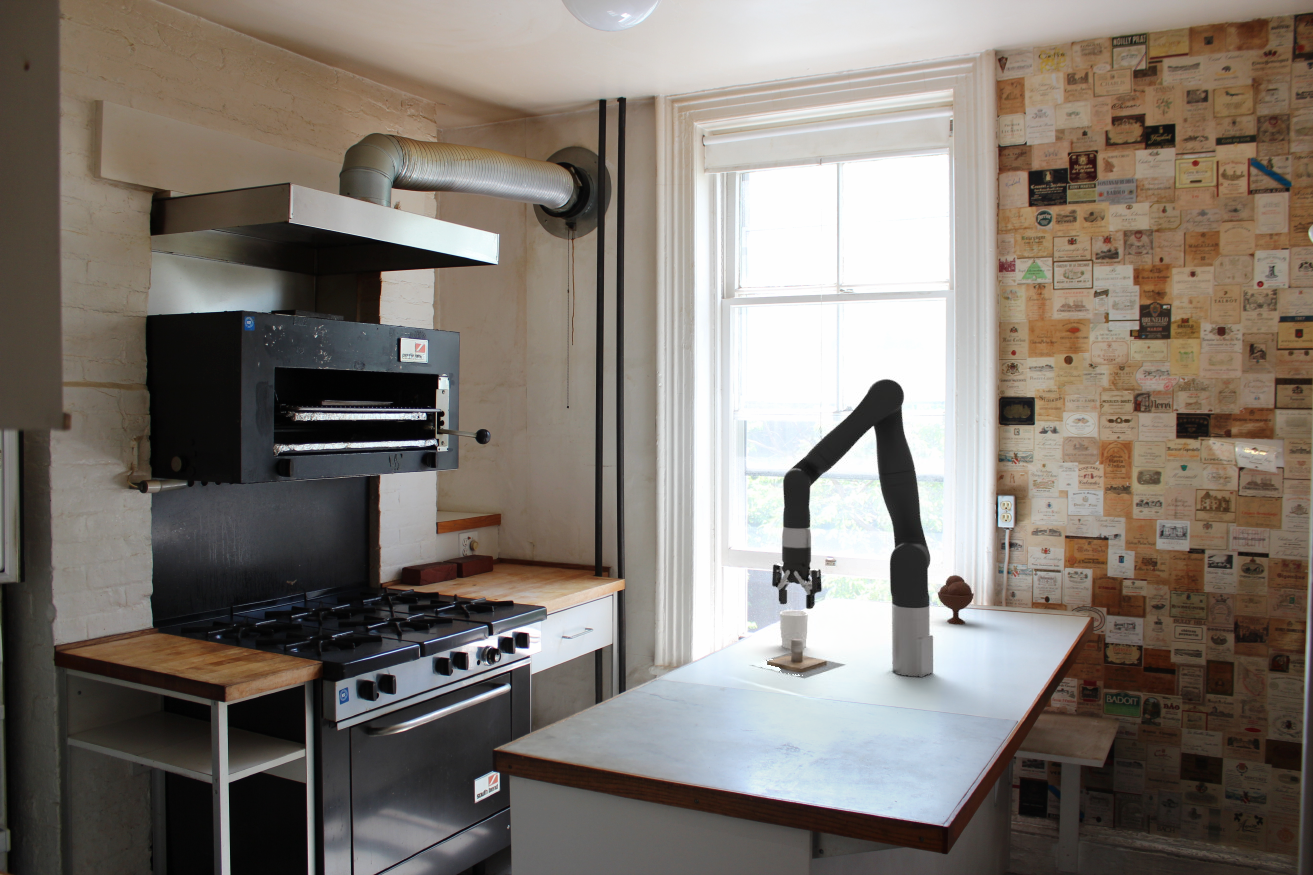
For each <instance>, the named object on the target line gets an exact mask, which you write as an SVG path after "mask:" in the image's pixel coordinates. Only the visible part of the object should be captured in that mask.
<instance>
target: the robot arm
mask: <svg viewBox="0 0 1313 875" xmlns="http://www.w3.org/2000/svg"><path fill="white" fill-rule="evenodd" d="M904 400H905V393H904V390H903V388H902V386H901V384H900V383H898V382H897V381H896V380H894V379H889V378H884V379H880V380H877V381H876V382H874V383H873V384H872V385H871V386H870V387H869V389H868V391H867V393H866V395H865V396H864V397H863V398H862V400H861V401H860V402H859V403H858V405H857V406H856V407H855V408H854V410H852V412H851V413H850V414H849V415H847V417H845V418H844V419H843V420H842V421H841V422H840V423H839V424H837V425H836V426H835V427H834V428H833V429H832V430H831V431H829V432H828V433H827V434H826V435H825V436H823V437H822V439H820V441H819V442H817V444H815V446H813V447H812V448H811V449H810V450H809V451H808V453H807V454H806V455H805V456H804V457H803V458H802V459H800V460H799V461H798V462H797V463H795V465H794V466H792V467H791V468H790V469H788V471H786V473H785V475H784V476H783V479H782V480H783V482H782V488H783V489H782V490H783V514H782V516H783V517H782V519H783V520H782V533H781V536H782V537H781V552H782V553H781V561H782V563H776V564H773V565H772V579H771V580H772V581H771V585H772V587H773V588H777V590H778V602H779V604H780V605H786V604H788V589H787V587H788V586H789V585H790V584H792V583H793V584H796V585H800V586H801V588H803V589H804V591H805V593H806V594H805V608H806V609H807V610H811V609H814V607H815V604H816V603H815V602H816V600H815V596H816V594H817V593H821V592H822V590H823V589H822V571H821V569H820V568H814V569H812V568H811V562H812V533H811V510H810V501H811V486H812V485H813V484H814V483H816V481H817V480H818V479H819V478H820V477H821V476H822V475H824V474H826V473H827V472H828V471H829V470H831V469H832V468H833V467H834V466H835V465H836V464H837V463H838V462H839V461H840V460H841V459H843V457H844V456H845V455H846V454H847V453H848V452H849V451H850V450H851V449H852V448H853V446H854V445H855V444H856V443H858V441H859V440H860V439H861V438H862V437H863V436H864V435H865V434H866V433H867V432H868V431H870V429H872V428H873V429H874V434H875V439H876V440H875V442H876V444H875V445H876V458H877V459H876V463H877V464H876V465H877V470H878V472H877V473H878V479H879V485H880V490H881V494H882V499H883V502H884V504H885V506H886V509H887V512H888V515H889V518H890V521H891V524H892V529H893V539H894V549H893V551H892V552H891V554H890V559H889V578H890V579H889V580H890V581H889V582H890V583H889V586H890V587H889V588H890V596H891V639H892V641H891V643H892V644H891V649H892V650H891V651H892V652H891V653H892V654H891V655H892V662H891V663H892V668H891V669H892V672H893V673H894V674H897V673H898V675H900V674H901V676H906V675H908V677H918V676H919V677H920V678H923V677H926V676H927V674H928V675H931V674H933V673H934V636H933V635H932V634H930V632H931V631H930V630H931V629H930V626H931V625H930V614H931V613H930V593H929V578H928V576H929V575H928V574H929V573H928V572H929V571H928V570H929V568H930V564H931V554H930V551H929V547H928V544H927V540H926V537H925V533H924V530H923V525H922V524H923V523H922V519H921V518H922V517H921V506H920V495H919V486H918V485H919V484H918V477H917V472H916V467H915V463H914V460H913V455H912V452H911V448H910V446H909V444H908V441H907V438H906V434H905V430H904V420H903V405H904V404H903V403H904ZM783 574H784V575H783ZM810 577H811V578H810ZM930 673H931V674H930ZM925 675H926V676H925Z"/></svg>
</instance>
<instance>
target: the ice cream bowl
mask: <svg viewBox="0 0 1313 875" xmlns="http://www.w3.org/2000/svg"><path fill="white" fill-rule="evenodd" d="M974 594H975V593H973V592H972V588H971V586H970V585H969V584H968V583H967V582H966V581H965V580H964V578H963V577H961V576H960V575H957V574H955V575H954V574H953V575H950V576H949V577H948V578H946V581H945V584H944V585H943V586H942V587H940V589H939V591H938V592H937V596H938V599H939V601H940V603H941V604H943V605H944V606H945V607H947V609H950V610H951V611H952V617H950V618H949V619H947V621H946V623H947V624H949V625H951V624H952V625H965V623H966V622H965V620H964V619H962V618H960V615H959V612H960V611H961V610H964V609H965V608H967V607H968V606H969V605H970V604H971V603H972V601H973V599H974Z"/></svg>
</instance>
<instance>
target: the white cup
mask: <svg viewBox="0 0 1313 875" xmlns="http://www.w3.org/2000/svg"><path fill="white" fill-rule="evenodd" d="M808 618H809V614H808V612H807V611H804V610H796V609H795V610H793V609H789V610H781V611H780V612H779V619H780V623H779V624H780V637H781V646H782V648H785V649H790V650H791V639H802V640H803V649H805V648H807V640H808V639H807V636H808V620H809V619H808Z"/></svg>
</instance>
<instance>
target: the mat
mask: <svg viewBox="0 0 1313 875" xmlns="http://www.w3.org/2000/svg"><path fill="white" fill-rule="evenodd" d="M790 654H791V652H788V653H785V654H781V655H779V656H774V657H772V658H771V659H776V658H779V657H783V656H786V655H790ZM806 656H807V655H806ZM807 657H809V656H807ZM810 657H811V658H814V657H813V656H810ZM815 658H816V657H815ZM816 659H818V658H816ZM820 659H821V658H820ZM765 660H766V661H767V659H765ZM821 660H823V659H821ZM824 660H825V661H827V665H824V666H821V667H818V668H815V669H812V670H808V671H805V672H802V673H800V672H796V671H792V670H788V669H783V668H780V669H781V670H780V671H781V672H782V673H781V674H784V673H786V674H785V675H788V673H789V674H791V675H790V676H793V675H792V674H794V675H795V674H796V675H798V674H799V675H800V676H796V677H797V678H802V679H807V678H810V677H813V676H815V675H819V674H822V673H825V672H828V671H830V670H833V669H836V668H840V667H843V666H846V664H844V663H840V662H835V661H831V660H826V659H824ZM780 671H779V672H778V673H780ZM802 675H803V676H802Z"/></svg>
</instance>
